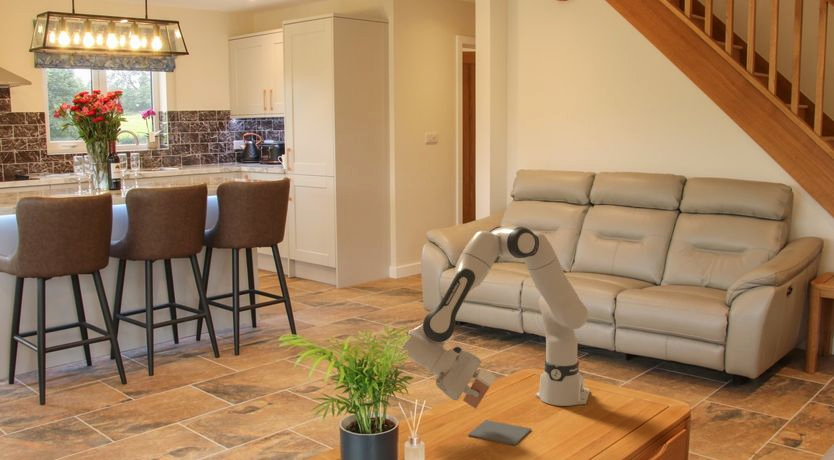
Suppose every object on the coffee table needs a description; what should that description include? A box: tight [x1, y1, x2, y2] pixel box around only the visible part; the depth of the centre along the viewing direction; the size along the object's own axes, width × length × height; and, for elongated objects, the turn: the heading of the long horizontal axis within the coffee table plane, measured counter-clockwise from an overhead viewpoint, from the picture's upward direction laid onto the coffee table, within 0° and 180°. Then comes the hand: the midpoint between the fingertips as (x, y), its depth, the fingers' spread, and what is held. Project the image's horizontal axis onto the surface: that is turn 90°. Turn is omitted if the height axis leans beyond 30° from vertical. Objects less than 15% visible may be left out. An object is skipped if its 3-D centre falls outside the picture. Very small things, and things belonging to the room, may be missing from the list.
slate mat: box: [467, 419, 532, 446], centre depth 255 cm, size 14×16×1 cm
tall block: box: [462, 367, 497, 410], centre depth 256 cm, size 5×5×12 cm
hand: (482, 388), depth 255 cm, fingers closed on tall block, 5 cm apart
